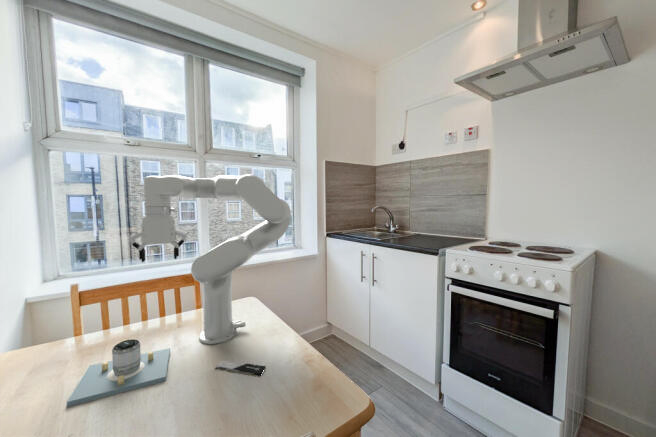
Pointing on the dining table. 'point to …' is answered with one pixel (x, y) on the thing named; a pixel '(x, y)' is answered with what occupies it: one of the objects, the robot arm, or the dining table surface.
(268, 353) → the dining table surface
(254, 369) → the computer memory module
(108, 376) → the pin board
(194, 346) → the dining table surface
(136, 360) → the camera lens
